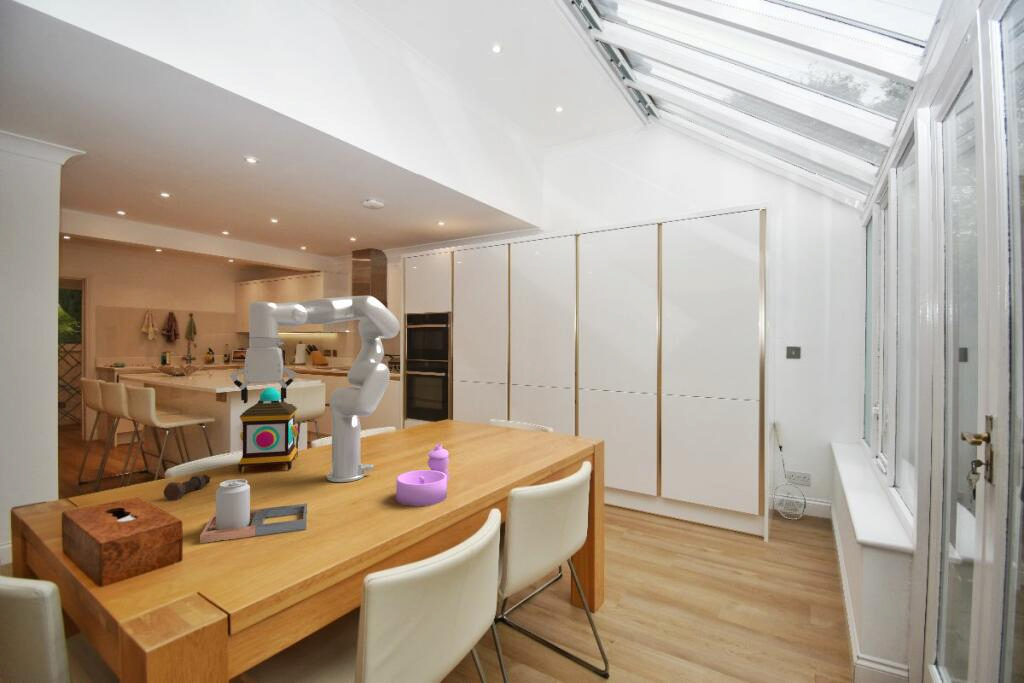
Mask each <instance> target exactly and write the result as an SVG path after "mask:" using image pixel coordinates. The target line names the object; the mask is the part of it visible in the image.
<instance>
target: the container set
mask: <svg viewBox="0 0 1024 683" xmlns="http://www.w3.org/2000/svg"><path fill="white" fill-rule="evenodd" d="M448 456H449V451H448V450H447V449H445V448H443V445H442V444H435V448H434V449H433V448H432V449H431V450H430V451H429V452H428V457H429V458H428V459H427V466H428V467H429V468H430V469H429V470H428V469H424V470H423V469H422V470H421V469H420V470H412V471H411V470H410V471H406V472H403V473H401V474H399V475H398V476H397V477H396V478H395V479H396V481H395V482H396V484H395V485H396V487H395V489H396V495H395V499H396V502H397V501H398V502H397V503H399V504H400V503H401V504H400V505H403V504H404V505H403V506H407V505H410V506H409V507H426V505H428V506H433V504H434V505H437V504H440V503H442V502H444V501H445V500H446V498H447V493H448V492H447V490H448V489H447V488H448V487H447V483H448V482H449V480H450V473H449V470H448V469H447V468H448V466H449V464H450V459H449V457H448ZM436 503H437V504H436Z"/></svg>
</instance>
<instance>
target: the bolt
mask: <svg viewBox="0 0 1024 683" xmlns="http://www.w3.org/2000/svg"><path fill="white" fill-rule="evenodd" d="M210 482H211V476H209V475H207V474H202V475H201V474H199V475H198V474H194V475H192V476H191V477H190V478H189V480H186V481H184V482H175V481H174V482H173V481H172V482H169V483H167V484H166V486H165V487H164V489H163V496H164V498H165V499H166V500H167V499H168V501H178V500H177V499H179V500H181V499H180V498H182V497H183V495H184V494H186V493H188V492H190V491H194V490H193V489H200V490H202V489H203V488H204V487H205V485H207V484H209V483H210ZM201 488H202V489H201Z"/></svg>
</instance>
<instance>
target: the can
mask: <svg viewBox="0 0 1024 683" xmlns="http://www.w3.org/2000/svg"><path fill="white" fill-rule="evenodd" d="M218 486H219V487H218V488H217V489H216V491H215V514H216V524H215V530H222V529H230V528H238V527H245V526H250V524H251V522H250V521H251V520H250V510H251V486H250V484H249V483H248V480H247V479H243V478H240V479H239V478H238V479H228V480H225V481H222V482H220V483H219V485H218Z"/></svg>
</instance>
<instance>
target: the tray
mask: <svg viewBox="0 0 1024 683" xmlns="http://www.w3.org/2000/svg"><path fill="white" fill-rule="evenodd" d="M293 514H294V515H300V514H303V516H302V518H300V519H294V520H293V519H292V520H284V521H277V522H271V523H269V522H268V523H264V522H266V519H267V518H266V517H269V518H274V517H273V516H277V517H283V516H282V515H285V516H292V515H293ZM265 518H266V519H265ZM250 519H253V520H251V522H250V525H248V526H245V527H238V528H230V529H222V530H216V529H215V530H213V527H214V526H213V525H216V513H213V514H212V515H210V518H209V520H208V521H207V523H206V525H205V527H204V528H203V530H202V532H201V533H200V535H199V538H200V540H199V541H200V542H199V543H202V544H209V543H215V541H216V542H221V541H220V540H224V541H229V539H231V540H236V539H237V538H238V539H244V538H245V539H246V538H251V537H252V536H253V537H259V536H266V535H274V534H281V533H283V534H284V533H288V532H296V531H302V530H303V531H304V530H307V519H308V503H299V504H290V505H283V506H282V505H281V506H280V505H279V506H274V507H272V506H271V507H266V508H265V507H264V508H256V509H250ZM238 539H237V540H238ZM208 542H209V543H208Z"/></svg>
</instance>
